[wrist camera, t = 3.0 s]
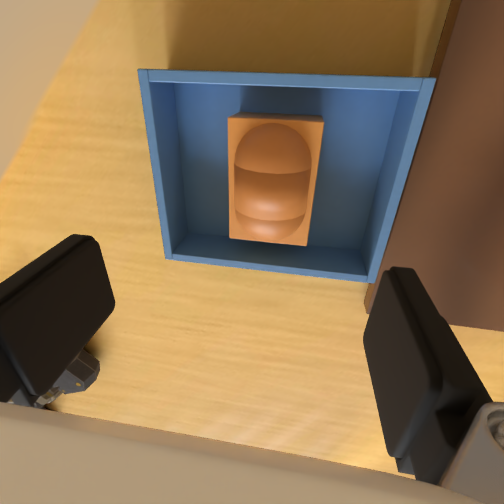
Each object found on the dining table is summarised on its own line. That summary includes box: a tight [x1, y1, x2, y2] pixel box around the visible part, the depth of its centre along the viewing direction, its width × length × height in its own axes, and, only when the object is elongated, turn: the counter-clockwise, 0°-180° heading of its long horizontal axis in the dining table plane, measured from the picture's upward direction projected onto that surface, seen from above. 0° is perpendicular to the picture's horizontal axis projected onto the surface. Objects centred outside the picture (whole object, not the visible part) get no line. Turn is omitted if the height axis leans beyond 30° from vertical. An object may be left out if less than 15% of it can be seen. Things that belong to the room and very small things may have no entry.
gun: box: [7, 349, 100, 410], centre depth 39 cm, size 5×26×15 cm
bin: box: [138, 69, 436, 283], centre depth 20 cm, size 15×12×4 cm
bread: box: [228, 112, 324, 246], centre depth 19 cm, size 5×8×5 cm
